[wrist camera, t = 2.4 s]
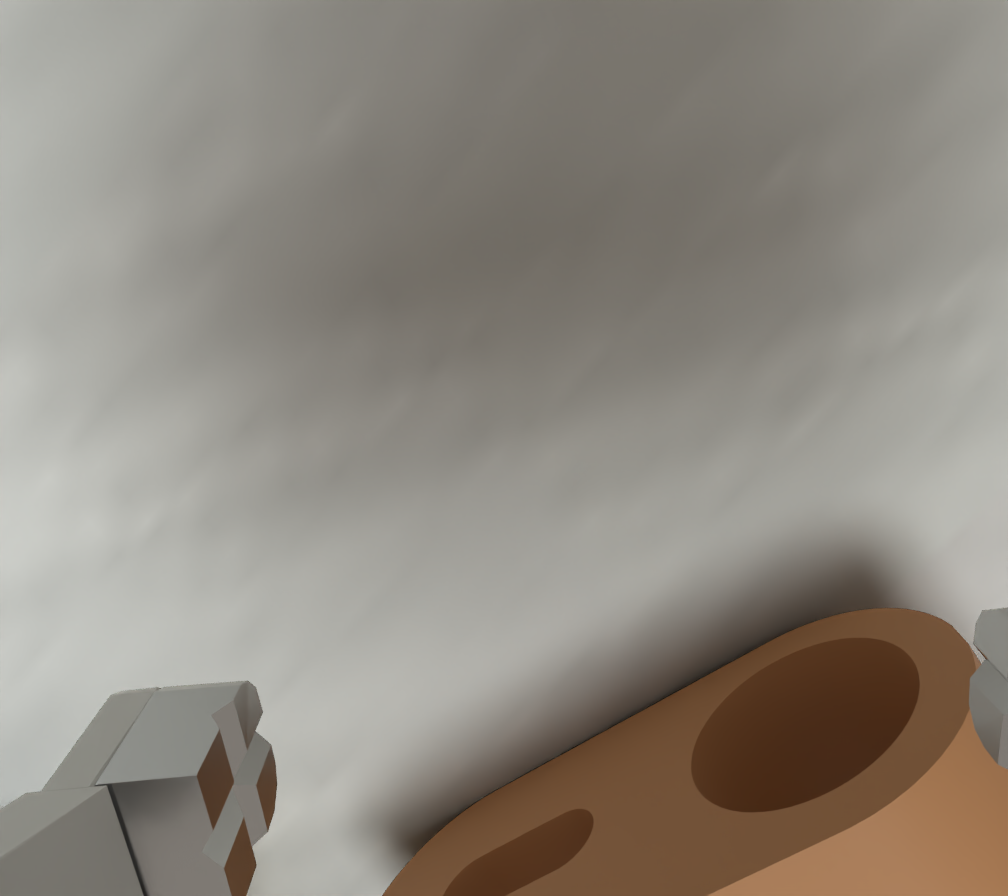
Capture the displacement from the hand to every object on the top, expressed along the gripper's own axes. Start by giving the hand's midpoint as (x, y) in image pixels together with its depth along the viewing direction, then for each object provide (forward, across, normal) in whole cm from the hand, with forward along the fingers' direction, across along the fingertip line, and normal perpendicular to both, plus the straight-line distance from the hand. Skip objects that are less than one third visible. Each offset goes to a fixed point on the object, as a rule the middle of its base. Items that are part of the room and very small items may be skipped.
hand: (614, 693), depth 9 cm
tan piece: (+9, -1, +10) cm, 13 cm away
